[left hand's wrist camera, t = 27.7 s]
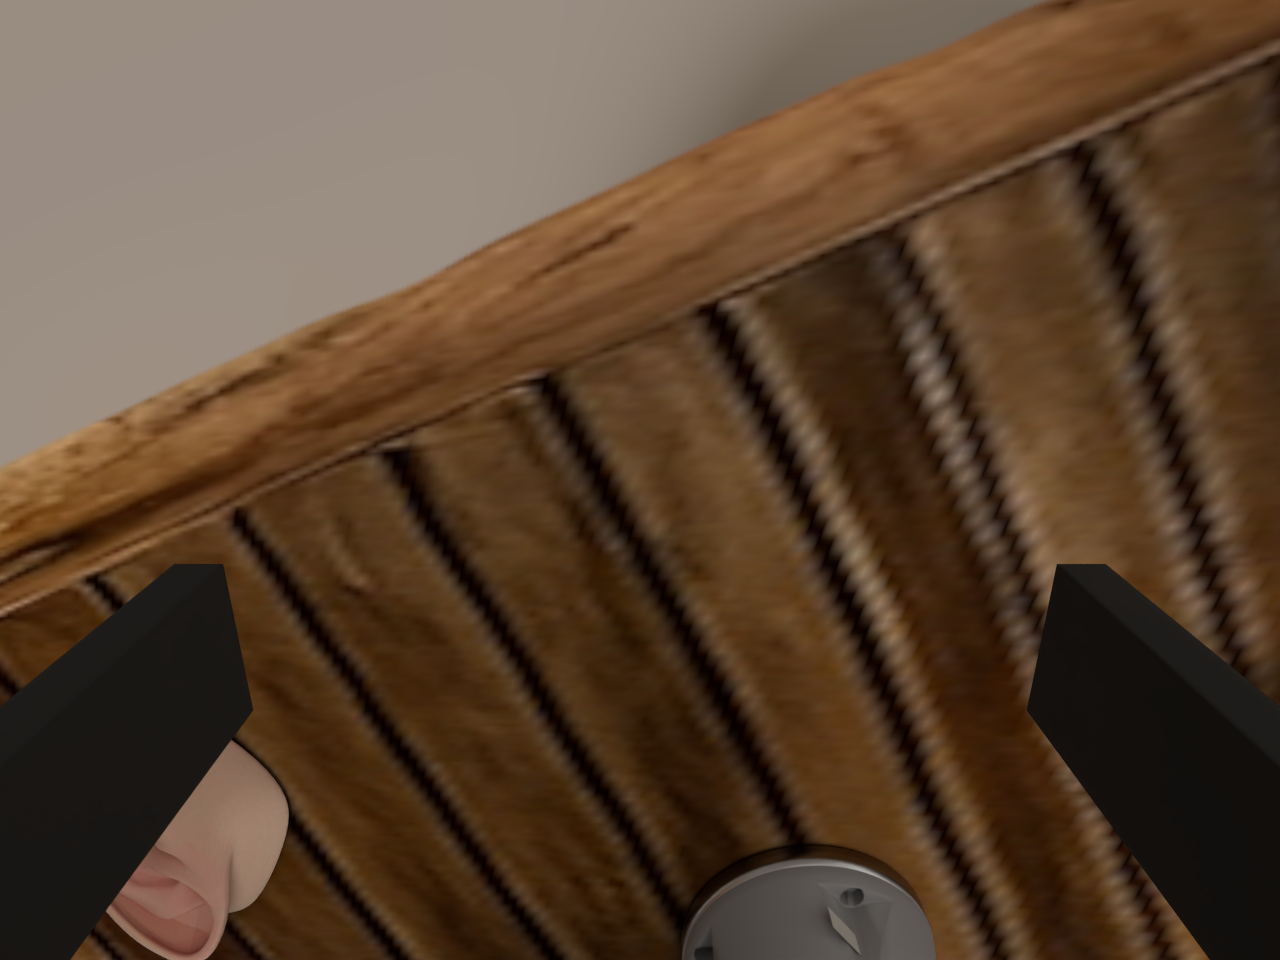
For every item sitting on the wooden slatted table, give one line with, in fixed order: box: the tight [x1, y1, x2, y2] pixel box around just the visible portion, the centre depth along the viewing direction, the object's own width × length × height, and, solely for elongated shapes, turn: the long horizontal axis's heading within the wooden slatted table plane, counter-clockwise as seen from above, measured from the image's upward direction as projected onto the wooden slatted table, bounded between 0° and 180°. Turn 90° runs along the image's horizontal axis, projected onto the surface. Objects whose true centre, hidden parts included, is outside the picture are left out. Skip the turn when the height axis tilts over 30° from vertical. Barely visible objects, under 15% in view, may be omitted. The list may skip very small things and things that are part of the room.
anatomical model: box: [106, 740, 289, 960], centre depth 44 cm, size 13×4×12 cm
